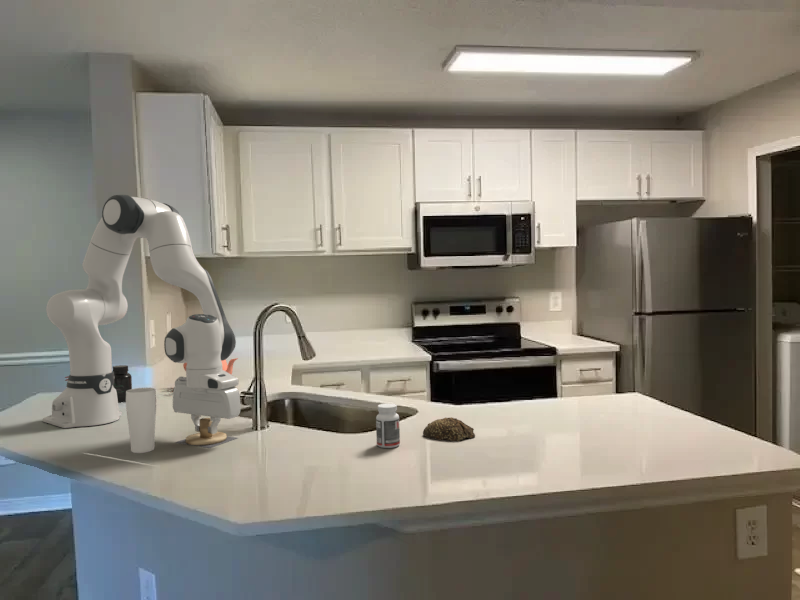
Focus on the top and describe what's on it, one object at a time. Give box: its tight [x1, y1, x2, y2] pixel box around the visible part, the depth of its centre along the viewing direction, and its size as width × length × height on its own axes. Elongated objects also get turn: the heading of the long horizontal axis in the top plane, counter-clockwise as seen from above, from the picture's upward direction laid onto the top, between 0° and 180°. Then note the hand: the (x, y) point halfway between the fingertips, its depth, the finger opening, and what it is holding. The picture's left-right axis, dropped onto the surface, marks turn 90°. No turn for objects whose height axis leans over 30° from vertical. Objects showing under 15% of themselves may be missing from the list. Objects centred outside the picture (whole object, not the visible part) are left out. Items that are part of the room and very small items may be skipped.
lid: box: [185, 417, 227, 446], centre depth 158 cm, size 10×10×5 cm
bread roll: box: [422, 417, 476, 442], centre depth 161 cm, size 13×12×5 cm
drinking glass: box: [125, 387, 157, 454], centre depth 150 cm, size 7×7×15 cm
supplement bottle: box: [112, 364, 133, 404], centre depth 212 cm, size 7×7×12 cm
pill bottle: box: [375, 403, 401, 449], centre depth 152 cm, size 6×6×10 cm
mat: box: [174, 436, 239, 449], centre depth 158 cm, size 12×10×1 cm
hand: (206, 432), depth 158 cm, fingers closed on lid, 3 cm apart
